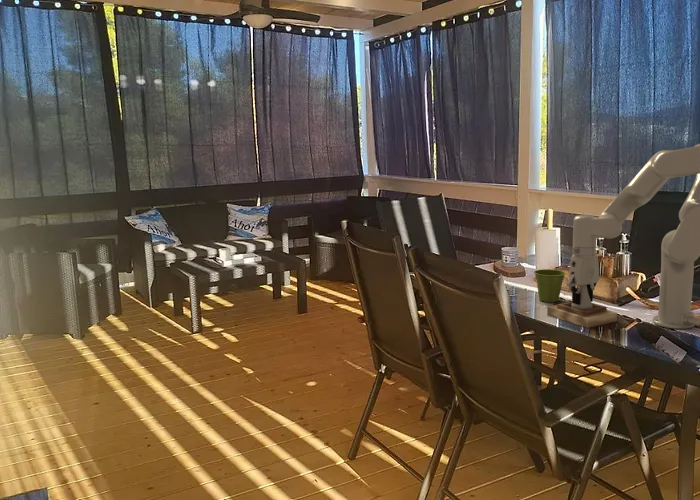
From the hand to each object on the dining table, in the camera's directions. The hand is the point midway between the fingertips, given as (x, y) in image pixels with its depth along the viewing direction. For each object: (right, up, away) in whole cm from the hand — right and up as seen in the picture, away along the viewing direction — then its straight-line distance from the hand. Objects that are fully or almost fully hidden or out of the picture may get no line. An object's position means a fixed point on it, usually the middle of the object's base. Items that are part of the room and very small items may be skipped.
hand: (582, 301), depth 213 cm
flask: (0, -2, 0) cm, 2 cm away
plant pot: (-4, -2, +25) cm, 25 cm away
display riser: (0, -6, +1) cm, 6 cm away
